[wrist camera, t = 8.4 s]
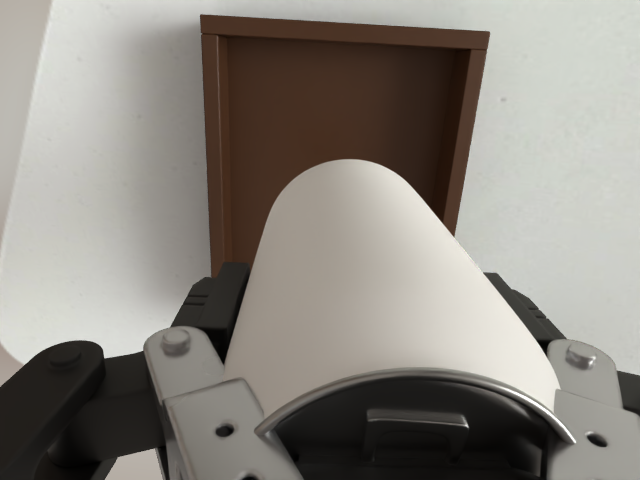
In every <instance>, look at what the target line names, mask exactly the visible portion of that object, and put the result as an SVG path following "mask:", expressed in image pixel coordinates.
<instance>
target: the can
mask: <svg viewBox="0 0 640 480" xmlns="http://www.w3.org/2000/svg"><path fill="white" fill-rule="evenodd" d="M224 367H225V371H224V375H223V382H224V381H227V380H230V379H234V378H237V377H242V378H244V379H245V381H246V382H247V384H248V386H249V387H250V389H251V391H252V392H253V394H254V396H255V397H256V399H257V401H258V403H259V404H260V406H261V408H262V409H263V411H264V420H263V421H262V422H261V423H260V424H259V425H258V426H257V427H256V428H255V429H254V433H255V434H257V435H265V434H267V433H268V432H269V431H271V430H272V429H273V428H274V430H275V431H276V433H277V435H278V437H279V438H280V440H281V442H282V443H283V445H284V447H285V448H286V450H287V452H288V453H289V455H290V457H291V459H292V460H293V461H298V460H299V455H326V456H361V460H362V462H374V461H375V457H411V458H445V461H446V462H447V463H448V464H452V465H457V464H458V461H459V459H485V460H507V461H508V463H509V465H510V467H514V468H518V469H521V470H524V471H527V472H529V473H532V474H534V475H536V476H539V477H540V464H541V450H542V447H543V443H544V440H545V436H546V432H547V428H548V424H549V425H550V426H551V427H552V428H553V429H554V430H555V431H556V433H557V434H558V435H559V437H560V438H561V439H562V440H564V441H565V442H567V443H576V442H577V440H576V438H575V437H574V435H573V434H572V433H571V431H570V430H569V429H568V427H567V426H566V425H565V424H564V423H563V422H562V421H561V420H560V419H559V418H558V417H557V416H556V415H555V414H554V398H555V391H556V389H560V385H559V382H558V379H557V376H556V374H555V372H554V370H553V368H552V366H551V364H550V362H549V360H548V359H547V357H546V355H545V354H544V352H543V350H542V349H541V347H540V345H539V344H538V343H537V341H536V340H535V338H534V337H533V336H532V334H531V333H530V332H529V330H528V329H527V328H526V326H525V325H524V324H523V322H522V321H521V320H520V319H519V317H518V316H517V315H516V313H515V312H514V311H513V310H512V308H511V307H510V306H509V305H508V303H507V302H506V301H505V300H504V298H503V297H502V296H501V295H500V293H499V292H498V291H497V290H496V288H495V287H494V286H493V285H492V283H491V282H490V281H489V280H488V279H487V277H486V276H485V275H484V274H483V272H482V271H481V270H480V269H479V267H478V266H477V265H476V264H475V262H474V261H473V260H472V259H471V258H470V256H469V255H468V254H467V253H466V251H465V250H464V249H463V248H462V247H461V245H460V244H459V243H458V242H457V240H456V239H455V238H454V237H453V235H452V234H451V233H450V232H449V231H448V229H447V228H446V227H445V226H444V225H443V223H442V222H441V221H440V220H439V218H438V217H437V216H436V215H435V214H434V212H433V211H432V210H431V209H430V208H429V206H428V205H427V204H426V203H425V202H424V200H423V199H422V198H421V197H420V196H419V195H418V193H417V192H416V191H415V190H414V189H413V188H412V187H411V186H410V185H409V184H408V183H407V182H406V181H405V180H404V179H403V178H402V177H400V176H399V175H398V174H396V173H395V172H393V171H392V170H390V169H388V168H386V167H384V166H381V165H379V164H376V163H373V162H369V161H364V160H356V159H342V160H334V161H329V162H325V163H322V164H319V165H317V166H314V167H312V168H310V169H308V170H306V171H304V172H303V173H301V174H300V175H298V176H297V177H296V178H294V179H293V180H292V181H291V182H290V183H289V184H288V185H287V186H286V187H285V188H284V189H283V190H282V192H281V193H280V194H279V196H278V197H277V199H276V201H275V202H274V204H273V206H272V208H271V211H270V213H269V216H268V219H267V221H266V225H265V228H264V231H263V234H262V237H261V241H260V244H259V247H258V250H257V254H256V257H255V260H254V264H253V267H252V270H251V274H250V277H249V280H248V284H247V287H246V290H245V294H244V297H243V301H242V304H241V307H240V311H239V314H238V318H237V321H236V325H235V328H234V331H233V335H232V338H231V342H230V345H229V349H228V352H227V356H226V359H225V363H224ZM560 390H561V389H560Z"/></svg>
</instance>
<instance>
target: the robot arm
mask: <svg viewBox="0 0 640 480" xmlns="http://www.w3.org/2000/svg"><path fill="white" fill-rule="evenodd" d="M483 274H484V275H485V276H486V277H487V279H488V280H489V281H490V282H491V283H492V285H493V286H494V287H495V288H496V290H497V291H498V292H499V293H500V295H501V296H502V297H503V298H504V300H505V301H506V302H507V303H508V305H509V306H510V307H511V308H512V310H513V311H514V312H515V313H516V315H517V316H518V317H519V319H520V320H521V321H522V322H523V324H524V325H525V326H526V328H527V329H528V330H529V332H530V333H531V334H532V336H533V337H534V338H535V340H536V341H537V343H538V344H539V345H540V347H541V349H542V350H543V352H544V354H545V355H546V357H547V359H548V360H549V362H550V364H551V366H552V368H553V370H554V372H555V374H556V376H557V379H558V382H559V385H560V389H561V390H560V389H556V391H555V398H554V414H555V415H556V416H557V417H558V418H559V419H560V420H561V421H562V422H563V423H564V424H565V425H566V426H567V427H568V429H569V430H570V431H571V433H572V434H573V435H574V437H575V438H576V440H577V442H576V443H567V442H565V441H564V440H562V439H561V438H560V437H559V435H558V434H557V433H556V431H555V430H554V429H553V428H552V427H551V426H550V425H549V424H548V428H547V432H546V436H545V440H544V443H543V447H542V450H541V464H540V477H539V476H536V475H534V474H532V473H529V472H527V471H524V470H521V469H518V468H514V467H510V465H509V463H508V461H507V460H485V459H459V461H458V464H457V465H452V464H448V463H447V462H446V461H445V458H411V457H375V461H374V462H362V460H361V456H326V455H299V460H298V461H293V460H292V459H291V457H290V455H289V453H288V452H287V450H286V448H285V447H284V445H283V443H282V442H281V440H280V438H279V437H278V435H277V433H276V431H275V430H274V428H273V429H272V430H271V431H269V432H268V433H267V434H265V435H257V434H255V433H254V429H255V428H256V427H257V426H258V425H259V424H260V423H261V422H262V421H263V420H264V411H263V409H262V408H261V406H260V404H259V403H258V401H257V399H256V397H255V396H254V394H253V392H252V391H251V389H250V387H249V386H248V384H247V382H246V381H245V379H244V378H242V377H237V378H234V379H230V380H227V381H224V382H223V375H224V371H225V367H224V363H225V359H226V356H227V352H228V349H229V345H230V342H231V338H232V335H233V331H234V328H235V325H236V321H237V318H238V314H239V311H240V307H241V304H242V301H243V297H244V294H245V290H246V287H247V284H248V280H249V277H250V264H249V263H241V262H224V263H223V265H222V267H221V269H220V271H219V273H218V276H217V278H210V277H204V278H203V279H201V280H200V281H199V282H197V283H196V284H194V285H193V286H192V288H191V290H190V292H189V293H188V297H186V299H185V301H184V303H183V305H182V306H181V308H180V310H179V312H178V314H177V315H176V317H175V319H174V321H173V323H172V325H171V327H170V328H166V329H163V330H160V331H158V332H156V333H155V334H153V335H151V336H150V337H149V338H148V339H147V340H146V342H145V344H144V347H143V350H144V351H141V352H138V353H134V354H130V355H124V356H118V357H112V358H106V359H104V354H103V349H102V348H101V346H99V345H98V344H96V343H94V342H91V341H82V340H79V341H69V342H64V343H60V344H57V345H54V346H51V347H49V348H47V349H45V350H43V351H41V352H40V353H38V354H37V355H36V356H34V357H33V358H32V359H31V360H30V361H29V362H28V363H27V364H25V365H24V366H23V367H22V368H21V369H20V370H19V371H18V372H16V373H15V374H14V375H13V376H12V377H11V378H10V379H9V380H8V381H6V382H5V383H4V384H3V385H2V386H1V387H0V480H105V478H106V476H107V475H108V473H109V472H110V470H111V468H112V467H113V465H114V463H115V462H116V460H117V457H120V456H124V455H128V454H133V453H137V452H141V451H145V450H150V449H154V448H155V450H156V454H157V458H158V462H159V466H160V469H161V474H162V477H163V480H640V376H639V375H634V374H630V373H625V372H621V371H617V370H616V366H615V363H614V362H613V360H612V359H611V358H610V357H609V356H608V355H607V354H605V353H604V352H602V351H601V350H599V349H597V348H595V347H593V346H591V345H588V344H586V343H583V342H579V341H575V340H569V339H566V338H565V336H564V335H563V334H562V333H561V332H560V331H559V330H558V329H557V328H556V327H555V326H554V325H553V324H552V322H551V321H550V320H549V319H546V316H545V315H544V314H543V313H542V312H541V311H540V310H538V307H537V306H536V305H535V304H534V303H533V302H532V301H531V300H530V299H529V298H528V297H526V296H524V295H523V294H521V293H519V292H518V291H516V290H512V289H511V288H510V287H509V286H508V285H507V284H506V283H505V282H504V280H503V279H502V278H501V277H500V276H499V275H498V274H497V273H484V272H483Z"/></svg>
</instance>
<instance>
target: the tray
mask: <svg viewBox="0 0 640 480" xmlns="http://www.w3.org/2000/svg"><path fill="white" fill-rule="evenodd" d="M200 24H201V33H202V35H201V43H202V66H203V89H204V113H205V136H206V159H207V183H208V206H209V229H210V253H211V276H212V278H217V276H218V273H219V271H220V269H221V267H222V265H223V263H224V262H241V263H249V264H250V274H251V270H252V267H253V264H254V260H255V257H256V254H257V250H258V247H259V244H260V241H261V237H262V234H263V231H264V228H265V225H266V221H267V219H268V216H269V213H270V211H271V208H272V206H273V204H274V202H275V201H276V199H277V197H278V196H279V194H280V193H281V192H282V190H283V189H284V188H285V187H286V186H287V185H288V184H289V183H290V182H291V181H292V180H293V179H294V178H296V177H297V176H298V175H300V174H301V173H303V172H304V171H306V170H308V169H310V168H312V167H314V166H317V165H319V164H322V163H325V162H329V161H334V160H342V159H356V160H364V161H369V162H373V163H376V164H379V165H381V166H384V167H386V168H388V169H390V170H392V171H393V172H395V173H396V174H398V175H399V176H400V177H402V178H403V179H404V180H405V181H406V182H407V183H408V184H409V185H410V186H411V187H412V188H413V189H414V190H415V191H416V192H417V193H418V195H419V196H420V197H421V198H422V199H423V200H424V202H425V203H426V204H427V205H428V206H429V208H430V209H431V210H432V211H433V212H434V214H435V215H436V216H437V217H438V218H439V220H440V221H441V222H442V223H443V225H444V226H445V227H446V228H447V229H448V231H449V232H450V233H451V234H452V235H453V237H454V236H455V230H456V224H457V219H458V213H459V207H460V202H461V196H462V190H463V184H464V179H465V173H466V167H467V162H468V156H469V150H470V145H471V139H472V133H473V128H474V122H475V116H476V111H477V105H478V99H479V93H480V88H481V82H482V76H483V71H484V65H485V59H486V54H487V48H488V42H489V37H490V32H489V31H472V30H455V29H438V28H421V27H404V26H387V25H370V24H354V23H337V22H320V21H303V20H286V19H269V18H252V17H235V16H218V15H202V14H201V15H200Z"/></svg>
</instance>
